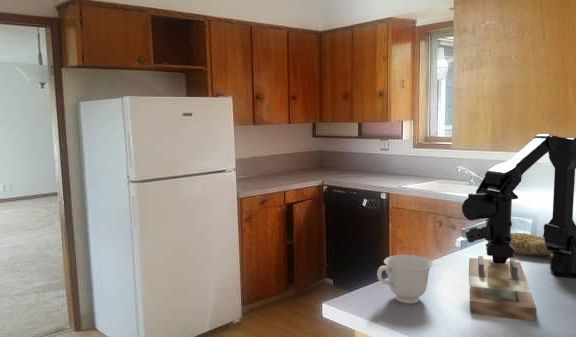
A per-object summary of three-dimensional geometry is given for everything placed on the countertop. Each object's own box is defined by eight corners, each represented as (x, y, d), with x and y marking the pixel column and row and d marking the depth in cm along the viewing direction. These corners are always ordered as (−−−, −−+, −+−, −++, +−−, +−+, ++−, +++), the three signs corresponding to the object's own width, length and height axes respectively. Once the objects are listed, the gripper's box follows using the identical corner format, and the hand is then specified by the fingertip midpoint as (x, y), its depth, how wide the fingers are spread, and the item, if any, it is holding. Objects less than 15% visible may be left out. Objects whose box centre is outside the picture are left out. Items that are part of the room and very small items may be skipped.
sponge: (485, 255, 161) (545, 256, 145) (484, 232, 162) (543, 230, 146) (506, 254, 168) (565, 255, 152) (504, 232, 170) (562, 231, 154)
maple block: (507, 280, 124) (507, 263, 124) (508, 287, 120) (509, 269, 119) (486, 278, 126) (487, 262, 126) (487, 284, 121) (488, 267, 121)
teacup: (365, 296, 123) (365, 259, 122) (412, 287, 128) (412, 252, 127) (391, 314, 112) (392, 273, 111) (442, 303, 117) (443, 265, 116)
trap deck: (519, 271, 139) (520, 250, 139) (536, 321, 107) (537, 293, 106) (469, 267, 144) (469, 246, 144) (470, 312, 112) (470, 286, 111)
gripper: (466, 207, 136) (465, 259, 138) (466, 222, 119) (465, 281, 121) (509, 209, 133) (507, 263, 134) (515, 225, 115) (512, 286, 117)
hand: (497, 273), depth 127 cm, fingers closed
